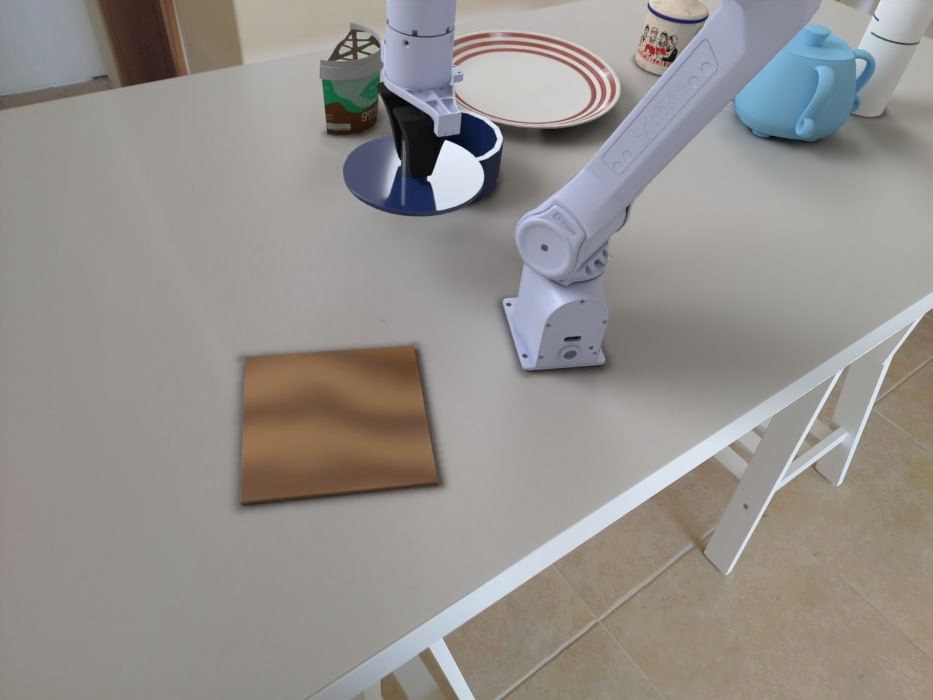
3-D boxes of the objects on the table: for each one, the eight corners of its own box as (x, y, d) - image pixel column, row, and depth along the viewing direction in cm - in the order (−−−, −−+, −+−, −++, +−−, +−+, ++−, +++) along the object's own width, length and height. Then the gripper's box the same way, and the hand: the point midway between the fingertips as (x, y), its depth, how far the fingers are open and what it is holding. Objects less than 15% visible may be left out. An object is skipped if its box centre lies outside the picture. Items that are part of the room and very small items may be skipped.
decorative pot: (789, 166, 97) (836, 66, 87) (697, 111, 106) (731, 14, 96) (858, 136, 105) (908, 41, 95) (767, 86, 113) (805, -5, 103)
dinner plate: (624, 155, 95) (630, 132, 93) (413, 132, 95) (414, 108, 92) (608, 61, 114) (613, 40, 112) (433, 42, 114) (435, 20, 112)
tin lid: (506, 208, 70) (512, 165, 66) (369, 233, 65) (368, 189, 62) (451, 135, 78) (454, 95, 75) (326, 154, 74) (323, 111, 70)
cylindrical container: (872, 95, 114) (964, -84, 96) (889, 118, 109) (990, -67, 91) (827, 91, 114) (911, -90, 96) (843, 114, 109) (934, -72, 91)
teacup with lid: (622, 61, 115) (641, -17, 107) (653, 46, 120) (674, -29, 112) (687, 91, 110) (713, 11, 101) (718, 74, 115) (744, -3, 106)
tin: (507, 203, 86) (513, 162, 82) (399, 206, 83) (400, 165, 79) (486, 145, 94) (490, 106, 90) (387, 147, 92) (388, 107, 88)
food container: (370, 148, 91) (370, 71, 84) (323, 139, 92) (318, 61, 85) (397, 102, 100) (398, 28, 93) (353, 94, 100) (351, 20, 93)
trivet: (437, 484, 58) (438, 481, 58) (240, 504, 55) (239, 502, 55) (413, 348, 68) (413, 345, 68) (245, 359, 65) (245, 356, 65)
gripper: (501, 56, 58) (483, 201, 67) (433, -14, 67) (426, 123, 76) (417, 65, 55) (411, 214, 65) (358, -9, 64) (360, 132, 74)
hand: (414, 166), depth 70 cm, fingers closed on tin lid, 2 cm apart
